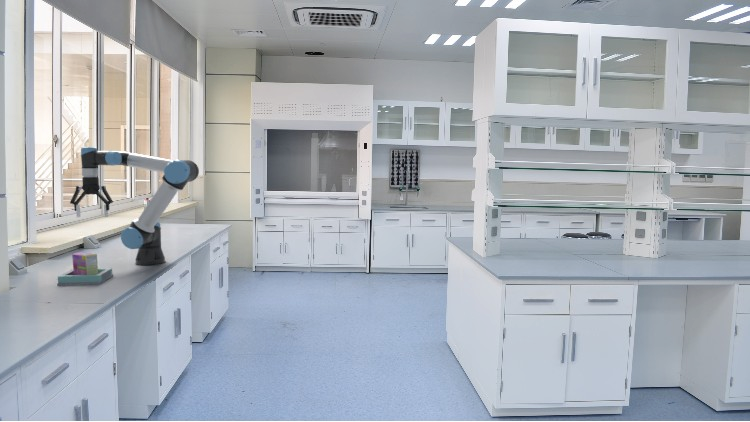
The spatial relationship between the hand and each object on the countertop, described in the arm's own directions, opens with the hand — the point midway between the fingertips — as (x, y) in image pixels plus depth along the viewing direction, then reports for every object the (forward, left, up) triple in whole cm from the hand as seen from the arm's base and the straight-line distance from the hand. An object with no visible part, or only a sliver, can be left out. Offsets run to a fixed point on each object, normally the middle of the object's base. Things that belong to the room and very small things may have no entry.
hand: (92, 217), depth 276 cm
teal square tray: (-8, +33, -27) cm, 43 cm away
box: (-8, +33, -26) cm, 42 cm away
